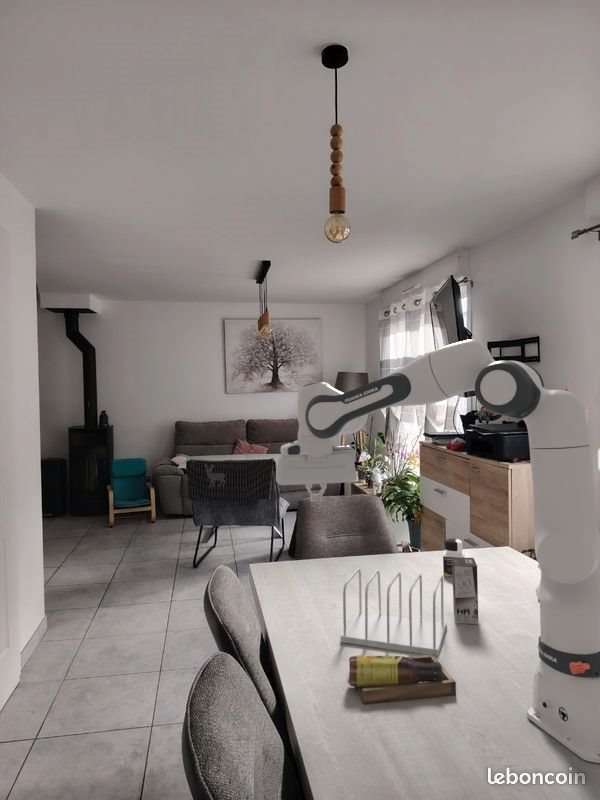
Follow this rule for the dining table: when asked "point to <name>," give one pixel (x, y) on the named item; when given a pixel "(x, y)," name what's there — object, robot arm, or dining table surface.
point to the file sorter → (394, 623)
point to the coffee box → (465, 590)
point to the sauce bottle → (391, 671)
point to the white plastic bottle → (451, 554)
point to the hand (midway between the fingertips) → (316, 501)
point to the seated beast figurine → (538, 587)
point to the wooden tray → (410, 687)
